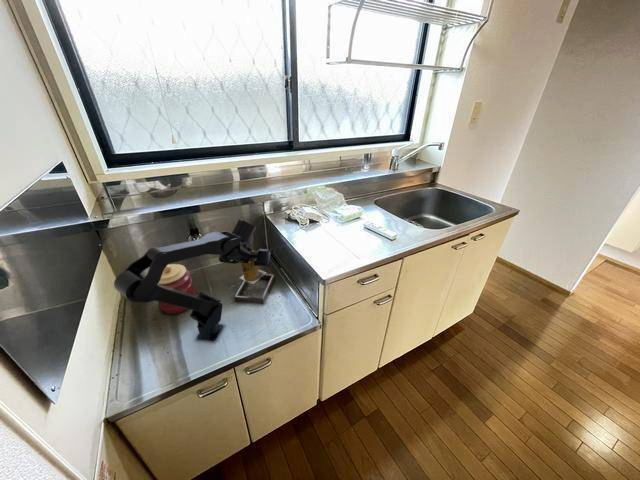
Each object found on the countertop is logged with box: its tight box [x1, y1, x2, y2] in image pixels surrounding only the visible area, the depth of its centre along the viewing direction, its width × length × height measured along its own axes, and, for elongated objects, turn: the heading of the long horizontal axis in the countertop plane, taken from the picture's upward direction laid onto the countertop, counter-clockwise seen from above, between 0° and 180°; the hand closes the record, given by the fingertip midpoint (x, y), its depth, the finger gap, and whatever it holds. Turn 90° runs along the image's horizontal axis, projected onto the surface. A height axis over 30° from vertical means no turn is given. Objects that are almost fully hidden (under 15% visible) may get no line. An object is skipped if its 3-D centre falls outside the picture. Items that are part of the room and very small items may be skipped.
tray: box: [234, 273, 275, 305], centre depth 108 cm, size 16×12×2 cm
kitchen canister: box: [157, 263, 197, 315], centre depth 97 cm, size 13×13×18 cm
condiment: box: [239, 249, 268, 285], centre depth 104 cm, size 7×8×12 cm
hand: (252, 260), depth 105 cm, fingers closed on condiment, 6 cm apart
